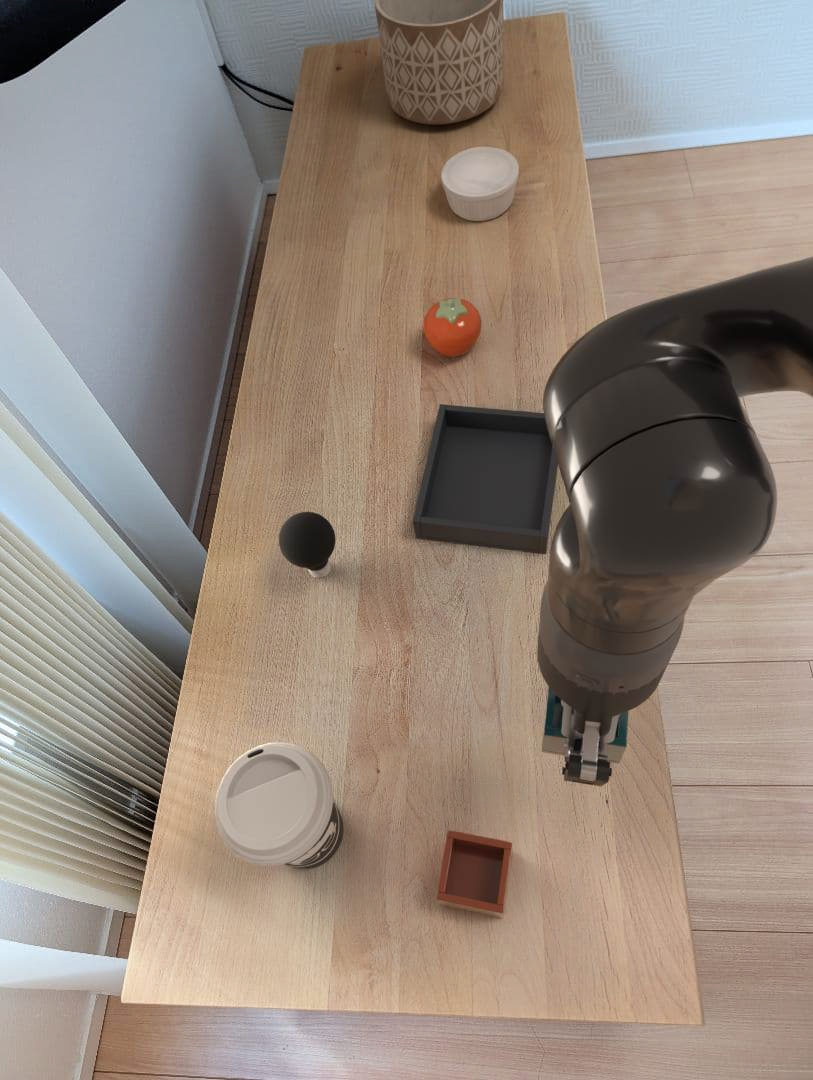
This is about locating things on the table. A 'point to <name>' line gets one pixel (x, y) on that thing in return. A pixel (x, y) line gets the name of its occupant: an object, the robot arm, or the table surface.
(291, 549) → the light bulb
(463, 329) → the tomato
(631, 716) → the table surface
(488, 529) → the tray
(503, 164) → the ramekin
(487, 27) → the planter
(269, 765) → the coffee cup
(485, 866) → the box brown
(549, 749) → the box teal
